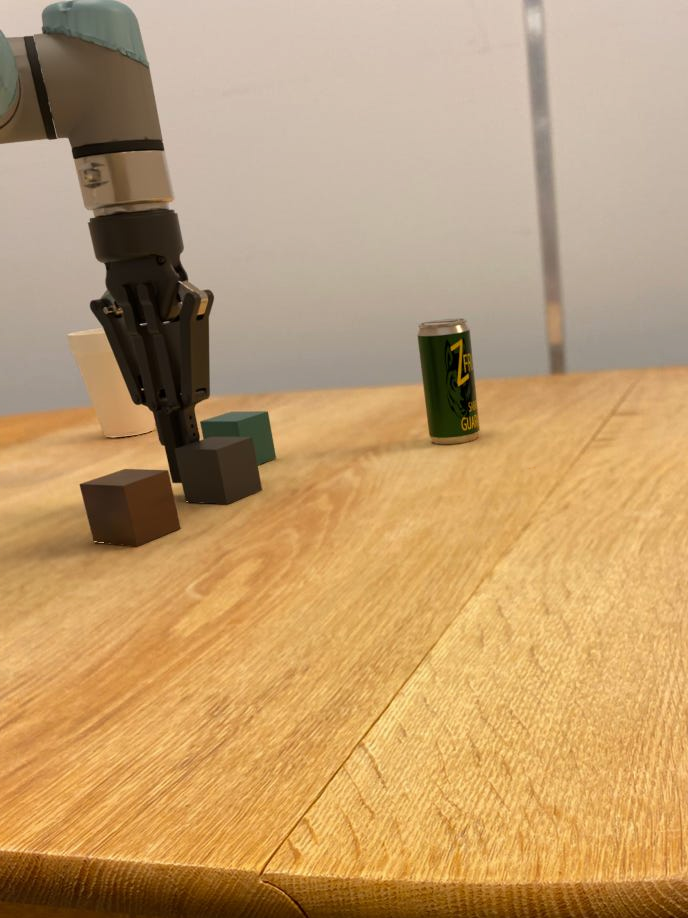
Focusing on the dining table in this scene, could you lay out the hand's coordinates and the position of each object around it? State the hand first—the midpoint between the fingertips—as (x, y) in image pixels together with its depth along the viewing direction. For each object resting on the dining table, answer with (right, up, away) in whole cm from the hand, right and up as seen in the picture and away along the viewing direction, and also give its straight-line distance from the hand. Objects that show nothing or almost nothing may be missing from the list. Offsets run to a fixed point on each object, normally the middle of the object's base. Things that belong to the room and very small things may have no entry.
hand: (188, 479), depth 100 cm
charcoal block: (+4, -2, -1) cm, 4 cm away
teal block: (+3, +3, +12) cm, 12 cm away
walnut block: (-1, -6, -12) cm, 13 cm away
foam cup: (-18, +11, +38) cm, 43 cm away
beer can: (+25, +6, +12) cm, 28 cm away
